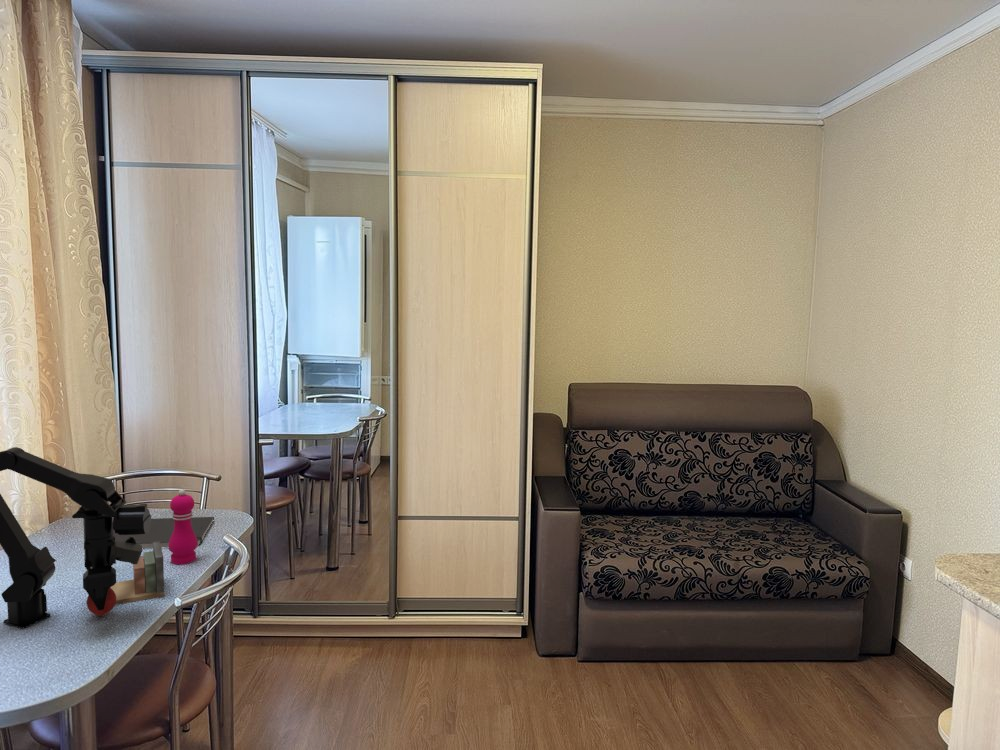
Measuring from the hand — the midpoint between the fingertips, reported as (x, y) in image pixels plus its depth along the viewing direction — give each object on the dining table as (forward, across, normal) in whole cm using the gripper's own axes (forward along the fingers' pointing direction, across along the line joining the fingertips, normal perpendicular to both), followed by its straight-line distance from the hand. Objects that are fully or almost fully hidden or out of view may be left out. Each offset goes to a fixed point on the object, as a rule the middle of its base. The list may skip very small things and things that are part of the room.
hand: (101, 601), depth 156 cm
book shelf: (+3, +10, -6) cm, 12 cm away
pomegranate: (+4, 0, 0) cm, 4 cm away
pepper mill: (+4, +27, -20) cm, 33 cm away
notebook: (+4, +50, -14) cm, 52 cm away
